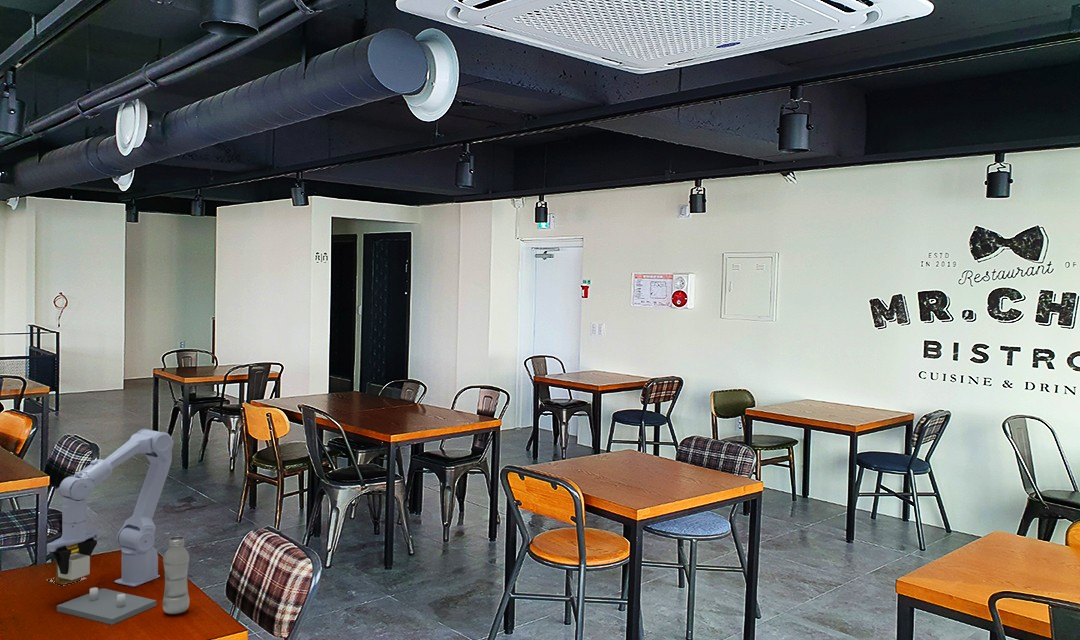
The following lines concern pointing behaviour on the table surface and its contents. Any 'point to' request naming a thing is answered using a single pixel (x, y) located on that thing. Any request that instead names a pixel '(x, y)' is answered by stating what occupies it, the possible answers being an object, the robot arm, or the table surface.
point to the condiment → (60, 580)
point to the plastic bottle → (176, 577)
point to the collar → (77, 566)
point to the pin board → (106, 606)
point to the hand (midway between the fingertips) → (74, 570)
